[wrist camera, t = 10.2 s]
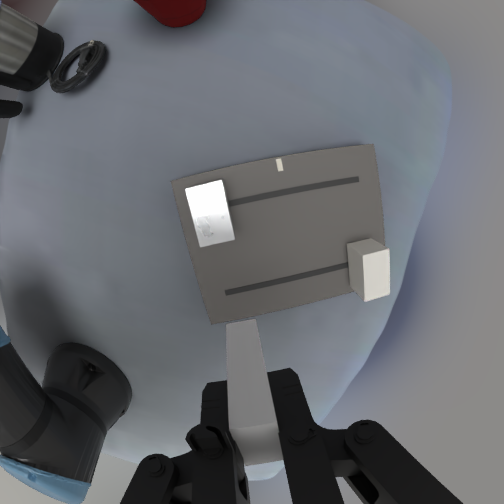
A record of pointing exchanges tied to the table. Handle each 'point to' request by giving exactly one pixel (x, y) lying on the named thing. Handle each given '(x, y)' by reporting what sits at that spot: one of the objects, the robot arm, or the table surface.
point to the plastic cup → (174, 11)
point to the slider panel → (285, 230)
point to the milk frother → (37, 58)
